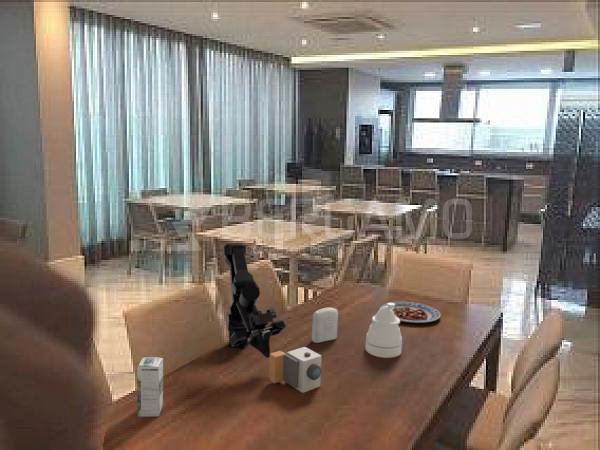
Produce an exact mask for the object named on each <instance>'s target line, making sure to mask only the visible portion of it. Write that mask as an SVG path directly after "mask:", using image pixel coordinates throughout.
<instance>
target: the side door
mask: <svg viewBox="0 0 600 450" xmlns="http://www.w3.org/2000/svg"><path fill="white" fill-rule="evenodd" d="M268 360H269V363H268V365H269V367H268V369H269V370H268V380H269V381H270V382H272V383H273V384H276V383H280V382H284V383H286V384H288V385H290V386H291V387H292V388H294V389H296V388H297V386H298V360H296V359H294V358H292V357H291V356H289V355H287V353H285V352H283V351H282V350H277V351H275V352H270V357H269V359H268Z"/></svg>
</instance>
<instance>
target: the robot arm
mask: <svg viewBox="0 0 600 450" xmlns="http://www.w3.org/2000/svg"><path fill="white" fill-rule="evenodd" d="M221 250H222V252H221V253H222V257H223V258H224V262H225V263H226V264H227V266H228V267H229V275H230V276H229V279H230V290H231V302H232V303H231V306H230V308H229V310H228V313H227V316H226V320H225V321H226V323H225V324H226V329H227V331H228V333H229V334H228V343H227V347H230V348H240V349H241V348H242V349H245V348H246V347H247V346H251V347H253V348H254V349H256V350H257V351H258V352H260V353H261V354H262V355H263V356H264V357H265V358H266V359H268V358H269V359H270V353H271V347H270V346H271V345H270V339H271V337H273V336H276V335H280V334H281V333H282V332H283V330H285V329H286V327H287V325H286V323H285V321H284V320H282V319H280V320H275V321H274V319H276V318H277V313H276V310H275V309H274V308H269V309H266V312H262V310H258V307H257V303H258V300H259V298H260V294H261V292H260V286H259V285H258V284H257V282H256V280H255V279H254V276H253V274H252V273H250V272H249V269H248V265H247V259H246V255H247V244H243V243H242V242H231V243H230V242H229V243H225V245H223V246H222V249H221ZM269 323H270V324H269ZM268 325H269V326H268Z"/></svg>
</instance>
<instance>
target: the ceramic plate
mask: <svg viewBox="0 0 600 450" xmlns="http://www.w3.org/2000/svg"><path fill="white" fill-rule="evenodd" d="M387 303H388V302H385V303H384V304H382V305H381V306H380V308H382V307H383V306H388V305H387ZM389 303H394V304H395V306H394V308H393V309H392V311H393V313H394V315H395V317H397V318H399V319H400V322H405V323H417V324H419V323H424V324H425V323H430V322H434V321H437V320H439V319H440V317H441V312H440V311H439V310H438V309H436V308H434V307H432V306H429V305H427V304H424V303H418V302H411V301H392V302H389ZM380 308H379V309H380Z"/></svg>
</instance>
